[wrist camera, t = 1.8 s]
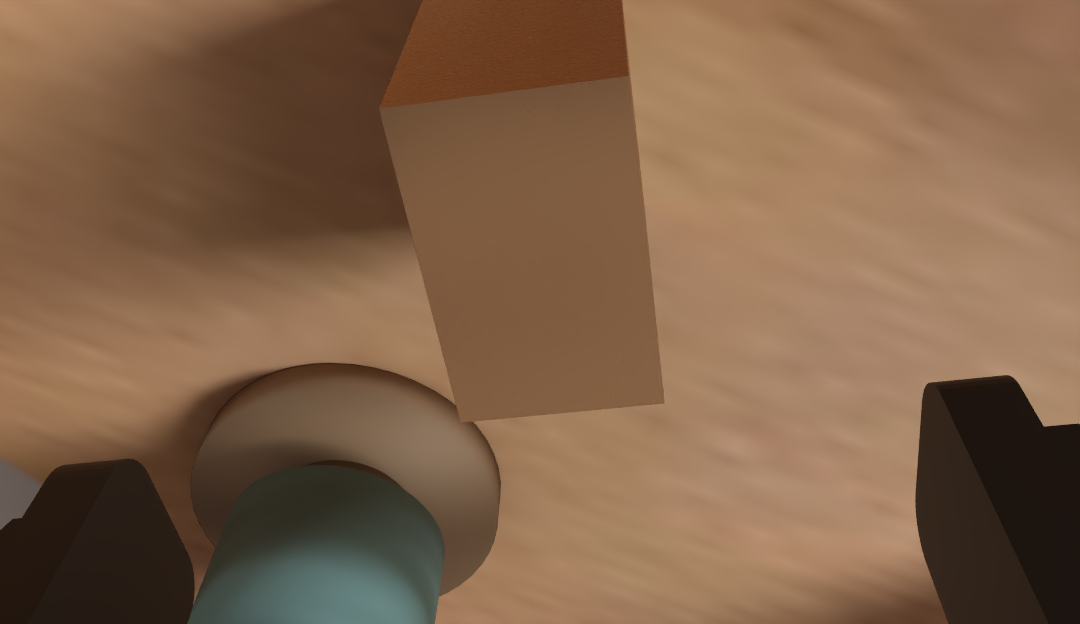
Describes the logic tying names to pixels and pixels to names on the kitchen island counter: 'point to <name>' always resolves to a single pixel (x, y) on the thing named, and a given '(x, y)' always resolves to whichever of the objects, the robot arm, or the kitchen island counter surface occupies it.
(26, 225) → the kitchen island counter surface
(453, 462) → the bobbin
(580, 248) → the brown wooden block
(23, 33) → the kitchen island counter surface
